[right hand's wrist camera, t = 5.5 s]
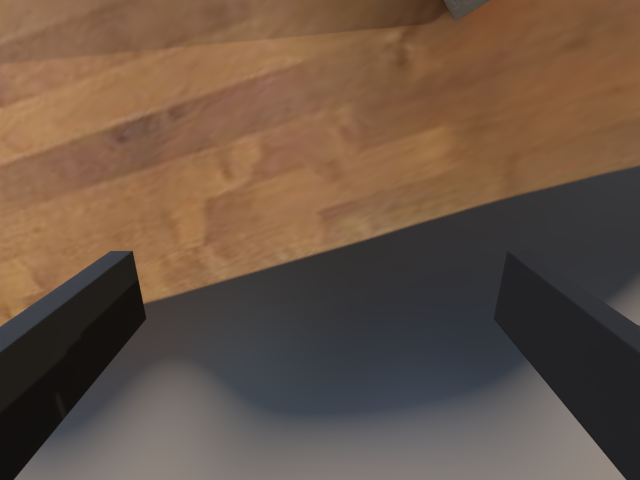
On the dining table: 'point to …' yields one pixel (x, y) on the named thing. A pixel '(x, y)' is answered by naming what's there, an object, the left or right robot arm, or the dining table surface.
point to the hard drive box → (463, 7)
